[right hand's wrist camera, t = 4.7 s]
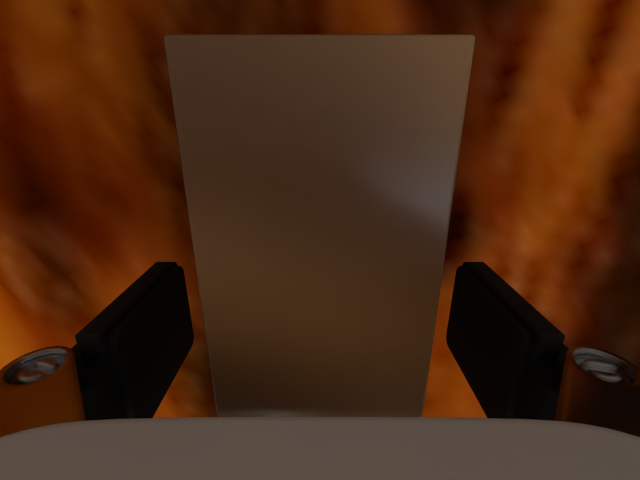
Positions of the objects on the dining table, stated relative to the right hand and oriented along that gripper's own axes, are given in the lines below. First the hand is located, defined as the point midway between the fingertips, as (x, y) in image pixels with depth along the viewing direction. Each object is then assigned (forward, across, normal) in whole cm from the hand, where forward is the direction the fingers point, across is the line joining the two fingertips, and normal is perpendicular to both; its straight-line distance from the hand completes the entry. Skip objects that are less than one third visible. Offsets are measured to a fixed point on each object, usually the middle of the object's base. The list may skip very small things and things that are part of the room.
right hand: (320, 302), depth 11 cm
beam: (+3, 0, -23) cm, 23 cm away
